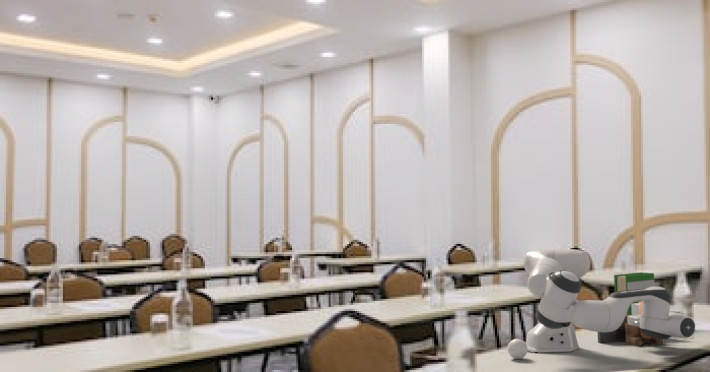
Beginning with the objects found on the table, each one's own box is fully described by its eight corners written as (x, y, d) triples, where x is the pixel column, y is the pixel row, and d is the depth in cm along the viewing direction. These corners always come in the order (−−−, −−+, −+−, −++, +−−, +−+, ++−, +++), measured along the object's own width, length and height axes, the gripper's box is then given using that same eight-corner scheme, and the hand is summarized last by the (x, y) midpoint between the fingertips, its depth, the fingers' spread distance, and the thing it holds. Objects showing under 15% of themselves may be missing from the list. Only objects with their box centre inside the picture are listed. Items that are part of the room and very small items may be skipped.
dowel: (644, 338, 287) (642, 303, 287) (638, 337, 290) (636, 302, 291) (653, 338, 287) (651, 302, 288) (648, 336, 291) (646, 301, 292)
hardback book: (629, 329, 326) (626, 275, 327) (616, 327, 332) (613, 275, 333) (656, 325, 334) (653, 273, 335) (643, 323, 340) (640, 272, 341)
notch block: (635, 346, 286) (634, 325, 286) (626, 343, 292) (625, 323, 293) (663, 344, 287) (662, 324, 288) (653, 341, 294) (652, 321, 295)
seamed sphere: (525, 356, 273) (524, 336, 274) (530, 360, 266) (529, 340, 266) (498, 357, 273) (497, 338, 273) (503, 361, 266) (502, 341, 266)
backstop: (600, 343, 295) (599, 318, 295) (597, 342, 297) (596, 317, 297) (668, 338, 300) (667, 314, 300) (665, 337, 302) (664, 313, 302)
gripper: (638, 331, 275) (619, 326, 288) (688, 328, 278) (667, 323, 291) (637, 314, 275) (619, 310, 289) (687, 311, 278) (666, 307, 292)
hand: (643, 317), depth 290 cm, fingers closed on dowel, 4 cm apart
